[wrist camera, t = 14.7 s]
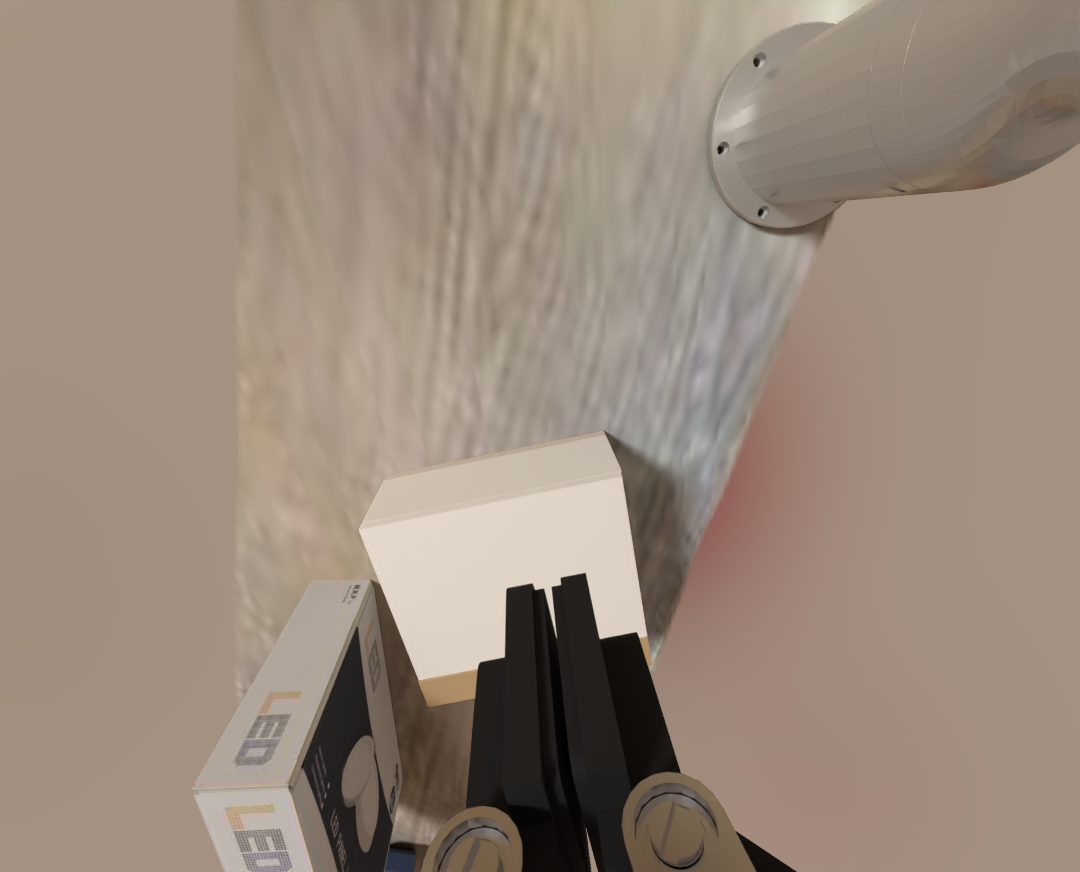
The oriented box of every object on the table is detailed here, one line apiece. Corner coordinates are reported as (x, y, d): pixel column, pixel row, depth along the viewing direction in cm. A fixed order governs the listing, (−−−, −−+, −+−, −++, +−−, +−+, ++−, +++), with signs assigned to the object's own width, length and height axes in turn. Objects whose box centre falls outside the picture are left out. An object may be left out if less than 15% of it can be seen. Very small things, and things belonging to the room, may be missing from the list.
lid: (619, 471, 37) (622, 477, 36) (649, 657, 44) (652, 666, 43) (361, 523, 37) (357, 531, 36) (430, 699, 44) (428, 709, 43)
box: (603, 430, 45) (621, 470, 37) (629, 588, 52) (649, 648, 44) (386, 475, 45) (361, 523, 38) (441, 625, 52) (429, 690, 45)
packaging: (403, 780, 61) (356, 1018, 43) (352, 783, 61) (283, 1023, 43) (373, 579, 50) (290, 786, 31) (310, 581, 49) (188, 791, 31)
